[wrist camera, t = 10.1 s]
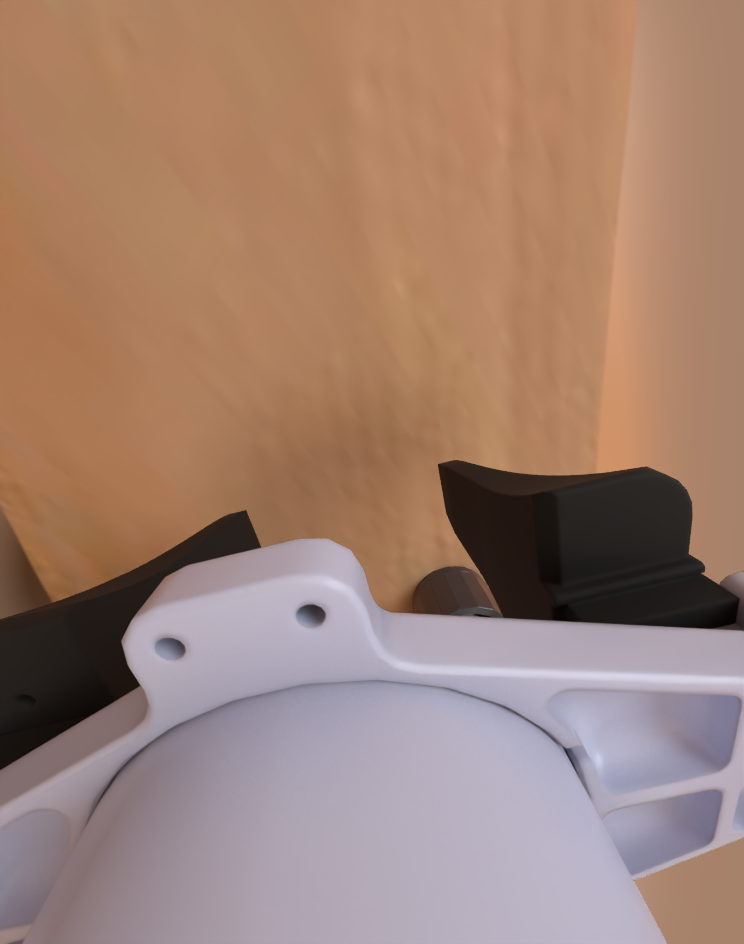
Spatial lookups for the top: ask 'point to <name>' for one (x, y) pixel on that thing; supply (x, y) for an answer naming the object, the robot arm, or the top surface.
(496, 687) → the robot arm
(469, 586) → the cup
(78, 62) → the top surface
